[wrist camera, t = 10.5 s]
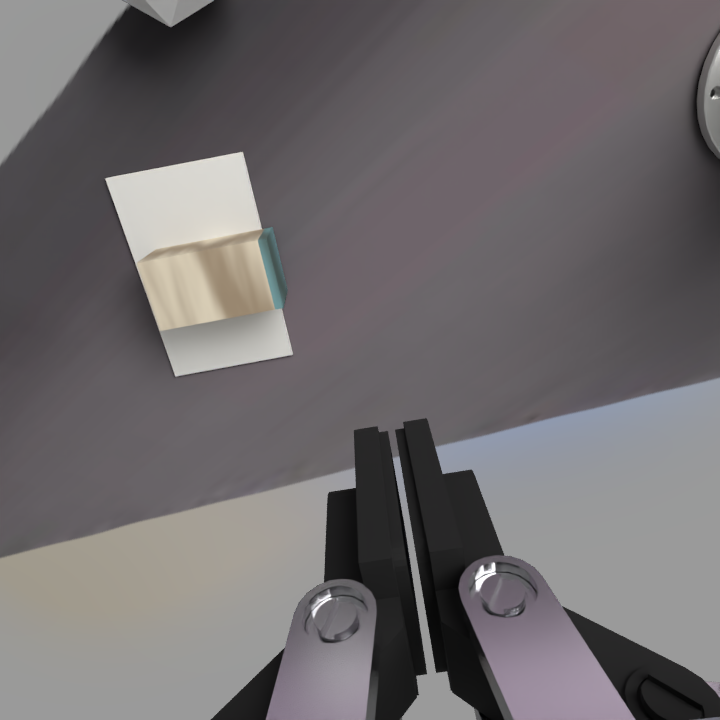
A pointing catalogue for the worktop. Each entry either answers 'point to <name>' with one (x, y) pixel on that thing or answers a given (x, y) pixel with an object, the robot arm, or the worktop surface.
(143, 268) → the tall block
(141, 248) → the mat
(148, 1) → the die
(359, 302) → the worktop surface
